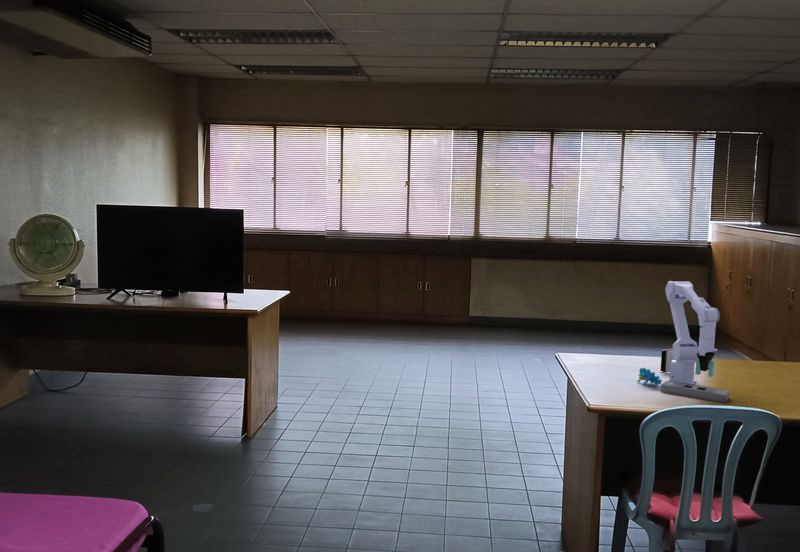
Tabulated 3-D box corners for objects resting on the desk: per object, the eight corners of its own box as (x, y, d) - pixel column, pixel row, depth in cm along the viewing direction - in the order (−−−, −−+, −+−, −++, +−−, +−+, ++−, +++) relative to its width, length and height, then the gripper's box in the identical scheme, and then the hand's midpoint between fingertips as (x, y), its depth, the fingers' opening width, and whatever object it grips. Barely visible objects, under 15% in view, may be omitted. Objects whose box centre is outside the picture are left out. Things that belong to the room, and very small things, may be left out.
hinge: (671, 367, 322) (673, 346, 321) (682, 370, 318) (684, 348, 317) (658, 372, 312) (660, 350, 311) (670, 374, 308) (672, 352, 307)
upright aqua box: (695, 374, 281) (696, 359, 280) (696, 373, 283) (697, 358, 282) (711, 376, 277) (713, 362, 276) (713, 375, 279) (714, 361, 279)
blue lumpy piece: (667, 383, 284) (652, 367, 281) (659, 394, 282) (644, 378, 280) (648, 380, 294) (634, 365, 292) (641, 391, 292) (627, 375, 290)
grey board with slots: (660, 391, 277) (661, 384, 276) (666, 387, 283) (666, 380, 283) (724, 402, 262) (725, 395, 262) (729, 398, 269) (729, 391, 269)
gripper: (713, 341, 270) (711, 374, 272) (721, 336, 282) (719, 368, 283) (694, 338, 274) (692, 372, 276) (703, 334, 286) (701, 366, 287)
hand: (704, 370), depth 280 cm, fingers closed on upright aqua box, 3 cm apart
